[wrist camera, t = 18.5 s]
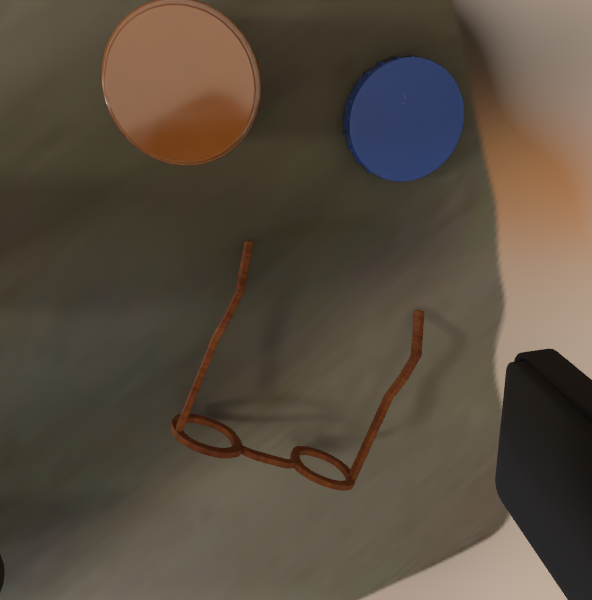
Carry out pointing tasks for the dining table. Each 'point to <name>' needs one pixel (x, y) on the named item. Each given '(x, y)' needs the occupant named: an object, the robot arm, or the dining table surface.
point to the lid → (404, 118)
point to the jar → (181, 81)
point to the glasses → (295, 460)
